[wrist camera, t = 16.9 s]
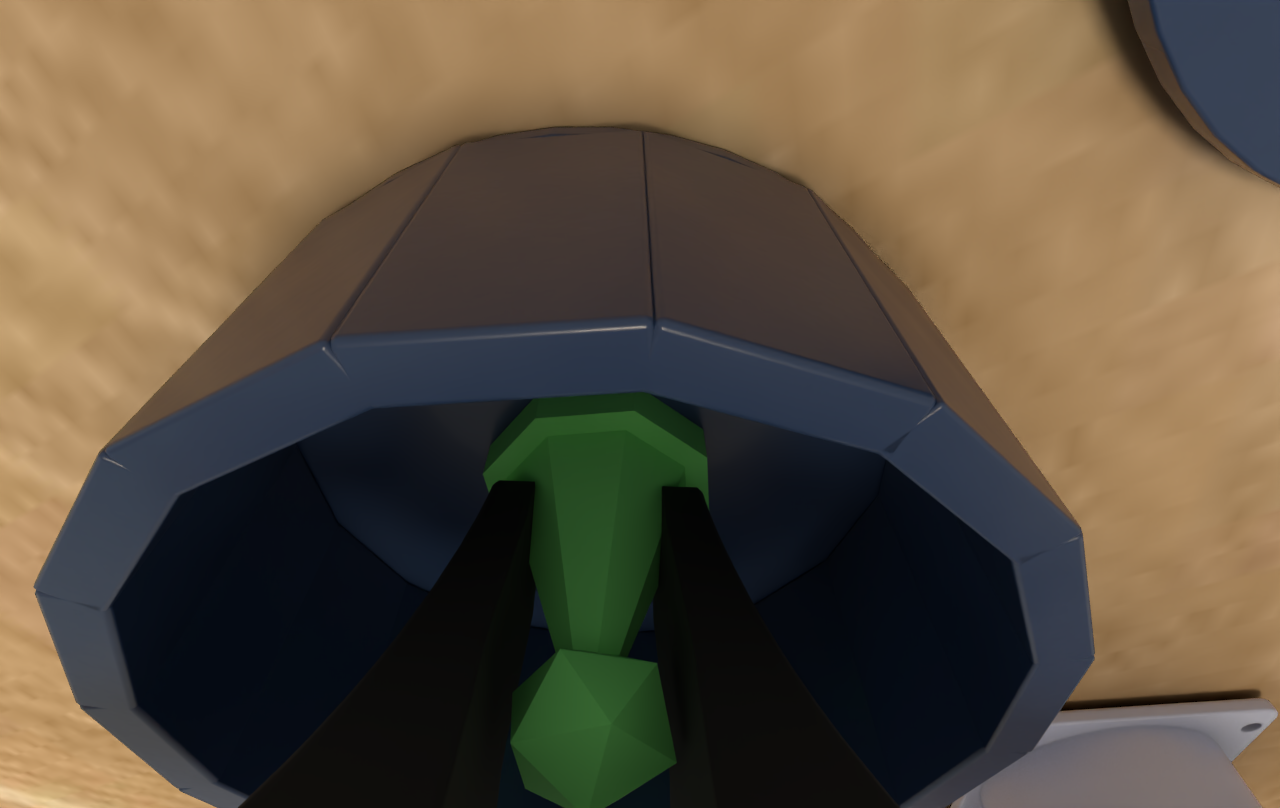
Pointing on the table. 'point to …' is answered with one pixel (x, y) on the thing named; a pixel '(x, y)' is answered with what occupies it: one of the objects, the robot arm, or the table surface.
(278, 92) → the table surface
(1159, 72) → the pan lid
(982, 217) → the table surface
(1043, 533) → the pan
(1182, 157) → the table surface
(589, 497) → the game piece
